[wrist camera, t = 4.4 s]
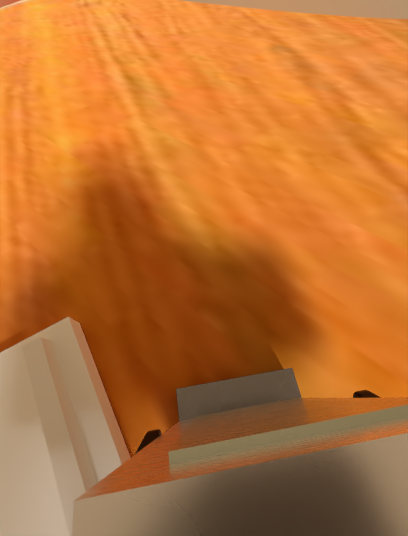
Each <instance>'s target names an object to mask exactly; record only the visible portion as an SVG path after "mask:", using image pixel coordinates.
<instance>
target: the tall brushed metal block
mask: <svg viewBox="0 0 408 536" xmlns="http://www.w3.org/2000/svg"><path fill="white" fill-rule="evenodd" d="M176 393H177V403H178V414H179V422H177V423H176V424H175V425H173V426H172V427H171V428H169V429H168V430H167V431H165V432H164V433H163V434H162V435H161V436H159V437H158V438H156V439H155V440H154V441H152V442H151V443H150V444H148V445H147V446H146V447H144V448H143V449H142V450H140V451H139V452H138V453H136V454H135V455H134V456H132V457H131V458H130V459H128V460H127V461H126V462H125V463H123V464H122V465H121V466H119V467H118V468H117V469H115V470H114V471H113V472H111V473H110V474H109V475H107V476H106V477H105V478H103V479H102V480H101V481H99V482H98V483H97V484H95V485H94V486H93V487H91V488H90V489H89V490H88V491H86V492H85V493H84V494H82V495H81V496H80V497H78V498H77V499H76V500H74V508H73V523H72V536H408V398H301V395H300V391H299V388H298V385H297V382H296V379H295V375H294V372H293V369H292V368H288V369H283V370H277V371H272V372H266V373H261V374H255V375H250V376H244V377H239V378H233V379H228V380H222V381H217V382H211V383H206V384H200V385H195V386H189V387H184V388H178V389H176Z"/></svg>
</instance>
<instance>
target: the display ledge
mask: <svg viewBox="0 0 408 536" xmlns="http://www.w3.org/2000/svg"><path fill="white" fill-rule="evenodd" d="M130 458H131V457H130V454H129V452H128V449H127V446H126V444H125V441H124V438H123V436H122V433H121V431H120V428H119V425H118V423H117V420H116V417H115V415H114V412H113V409H112V407H111V404H110V402H109V399H108V396H107V394H106V391H105V388H104V386H103V383H102V381H101V378H100V375H99V373H98V370H97V367H96V365H95V362H94V359H93V357H92V354H91V352H90V349H89V346H88V344H87V341H86V338H85V336H84V333H83V330H82V328H81V325H80V323H79V322H77V321H75V320H74V319H72V318H70V317H66V318H65V319H63V320H61V321H59V322H57V323H55V324H53V325H51V326H49V327H48V328H46V329H44V330H42V331H40V332H38V333H36V334H34V335H32V336H31V337H29V338H27V339H25V340H23V341H21V342H19V343H17V344H15V345H14V346H12V347H10V348H8V349H6V350H4V351H2V352H0V536H72V523H73V508H74V500H76V499H77V498H78V497H80V496H81V495H82V494H84V493H85V492H86V491H88V490H89V489H90V488H91V487H93V486H94V485H95V484H97V483H98V482H99V481H101V480H102V479H103V478H105V477H106V476H107V475H109V474H110V473H111V472H113V471H114V470H115V469H117V468H118V467H119V466H121V465H122V464H123V463H125V462H126V461H127V460H128V459H130Z"/></svg>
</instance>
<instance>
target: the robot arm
mask: <svg viewBox="0 0 408 536" xmlns="http://www.w3.org/2000/svg"><path fill="white" fill-rule="evenodd" d="M353 398H381V397H379V396H377V395H375V394H373V393H372V392H370V391H367V390H362V391H357V392H355V393H354V394H353ZM161 435H162V434H161V431H160V430H158V429H157V430H152V431H148V432H147V433H146V435H145V437H144V439H143V440H142V442H141V444H140V446H139V448H138V450H137V451H136V453H138V452H139V451H140V450H142V449H143V448H144V447H146V446H147V445H148V444H150V443H151V442H152V441H154V440H155V439H156V438H158V437H159V436H161ZM136 453H135V454H136Z"/></svg>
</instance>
